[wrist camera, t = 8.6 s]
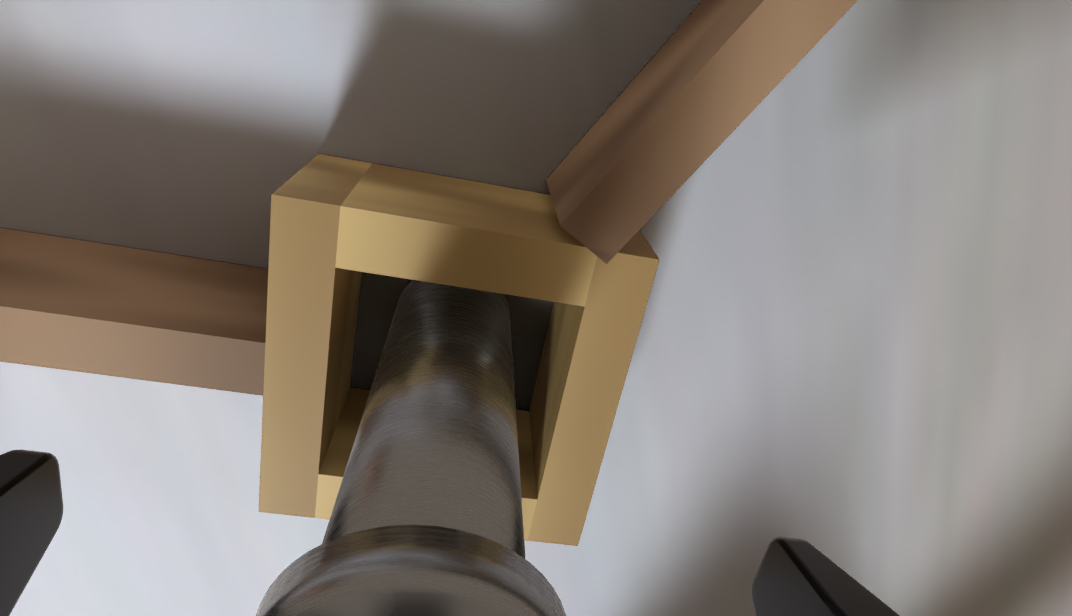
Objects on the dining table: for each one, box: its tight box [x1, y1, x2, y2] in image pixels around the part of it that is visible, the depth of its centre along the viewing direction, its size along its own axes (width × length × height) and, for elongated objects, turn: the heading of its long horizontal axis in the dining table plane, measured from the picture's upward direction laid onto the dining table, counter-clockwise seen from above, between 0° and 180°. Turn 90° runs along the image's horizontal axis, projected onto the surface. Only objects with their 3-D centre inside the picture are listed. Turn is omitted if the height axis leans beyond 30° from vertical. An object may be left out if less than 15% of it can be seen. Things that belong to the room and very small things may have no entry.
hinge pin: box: [256, 280, 566, 616], centre depth 10 cm, size 3×3×9 cm
